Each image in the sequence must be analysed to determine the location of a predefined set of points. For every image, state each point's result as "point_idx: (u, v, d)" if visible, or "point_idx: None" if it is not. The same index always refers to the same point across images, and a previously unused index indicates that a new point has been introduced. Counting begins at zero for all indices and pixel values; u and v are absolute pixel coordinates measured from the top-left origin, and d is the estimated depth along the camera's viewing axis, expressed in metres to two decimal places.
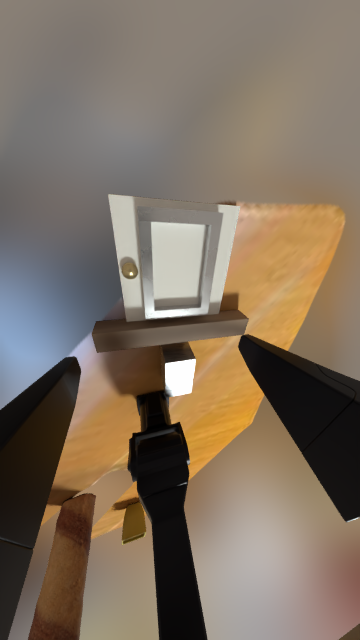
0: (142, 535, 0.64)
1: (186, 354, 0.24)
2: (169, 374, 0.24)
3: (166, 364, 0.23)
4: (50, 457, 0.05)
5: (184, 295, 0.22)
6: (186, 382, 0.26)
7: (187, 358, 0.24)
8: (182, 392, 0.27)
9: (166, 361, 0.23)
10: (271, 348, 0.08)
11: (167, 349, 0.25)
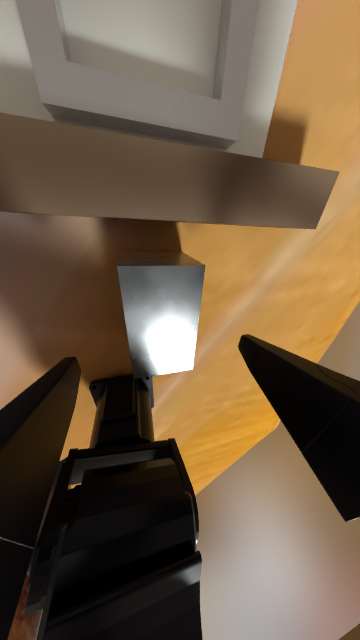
0: None
1: (180, 260, 0.09)
2: (134, 310, 0.09)
3: (120, 270, 0.08)
4: (50, 457, 0.05)
5: (172, 56, 0.07)
6: (182, 340, 0.11)
7: (182, 264, 0.09)
8: (173, 367, 0.12)
9: (121, 264, 0.08)
10: (271, 348, 0.08)
11: (134, 255, 0.10)
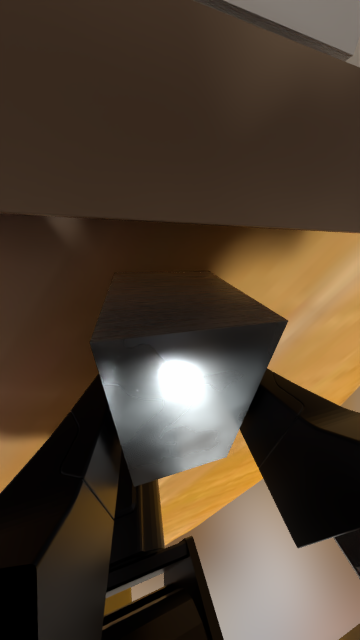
0: None
1: (225, 303, 0.05)
2: (134, 410, 0.04)
3: (100, 349, 0.03)
4: (119, 440, 0.06)
5: None
6: (218, 432, 0.06)
7: (238, 318, 0.04)
8: (197, 461, 0.07)
9: (104, 329, 0.03)
10: None
11: (133, 288, 0.06)
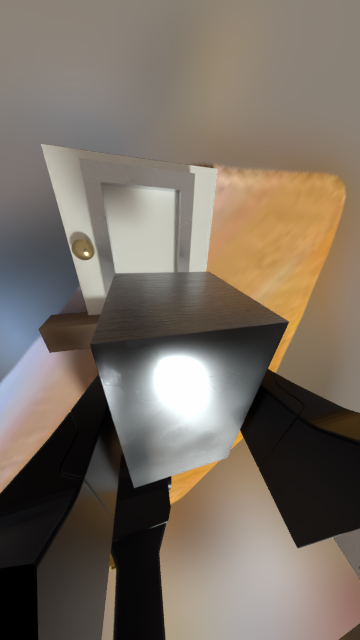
0: None
1: (226, 304, 0.05)
2: (134, 411, 0.04)
3: (100, 350, 0.03)
4: (119, 440, 0.06)
5: None
6: (218, 433, 0.06)
7: (239, 320, 0.04)
8: (198, 462, 0.07)
9: (104, 330, 0.03)
10: None
11: (134, 289, 0.05)
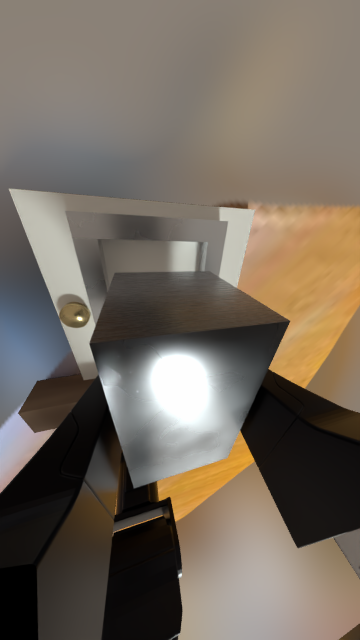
0: None
1: (227, 303, 0.05)
2: (134, 411, 0.04)
3: (100, 349, 0.03)
4: None
5: None
6: (219, 433, 0.06)
7: (240, 319, 0.04)
8: (198, 463, 0.07)
9: (104, 329, 0.03)
10: None
11: (134, 288, 0.05)
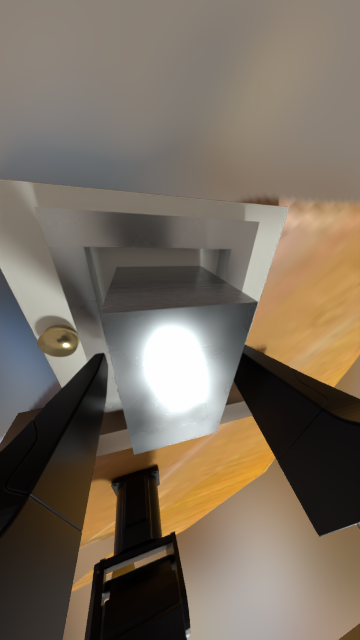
0: None
1: (210, 289, 0.06)
2: (134, 376, 0.05)
3: (107, 320, 0.04)
4: (91, 447, 0.06)
5: None
6: (207, 404, 0.07)
7: (218, 300, 0.05)
8: (190, 434, 0.08)
9: (110, 306, 0.04)
10: (249, 351, 0.08)
11: (133, 278, 0.06)
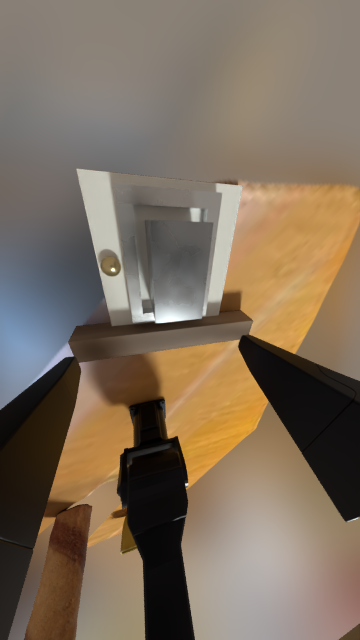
0: None
1: None
2: (159, 258, 0.12)
3: (152, 223, 0.11)
4: (50, 457, 0.05)
5: None
6: (194, 289, 0.14)
7: None
8: (186, 315, 0.15)
9: (152, 220, 0.11)
10: (271, 348, 0.08)
11: None
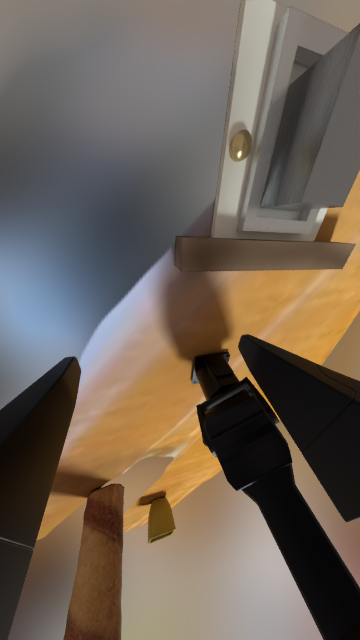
0: (169, 533, 0.58)
1: None
2: (346, 91, 0.10)
3: None
4: (50, 457, 0.05)
5: None
6: (355, 157, 0.12)
7: None
8: (332, 197, 0.13)
9: (358, 28, 0.09)
10: (271, 348, 0.08)
11: None
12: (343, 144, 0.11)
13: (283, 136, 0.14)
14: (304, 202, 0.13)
